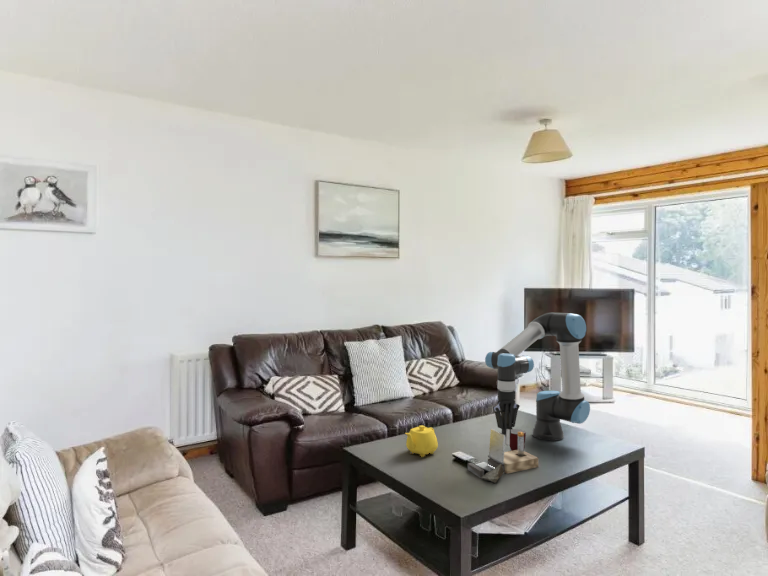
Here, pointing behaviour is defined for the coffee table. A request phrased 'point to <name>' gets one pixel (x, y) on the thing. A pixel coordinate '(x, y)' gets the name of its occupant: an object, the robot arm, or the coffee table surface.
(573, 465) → the coffee table surface
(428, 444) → the teapot
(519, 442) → the pin
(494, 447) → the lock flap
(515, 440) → the mug
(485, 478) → the rock sample
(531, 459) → the block
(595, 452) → the coffee table surface
